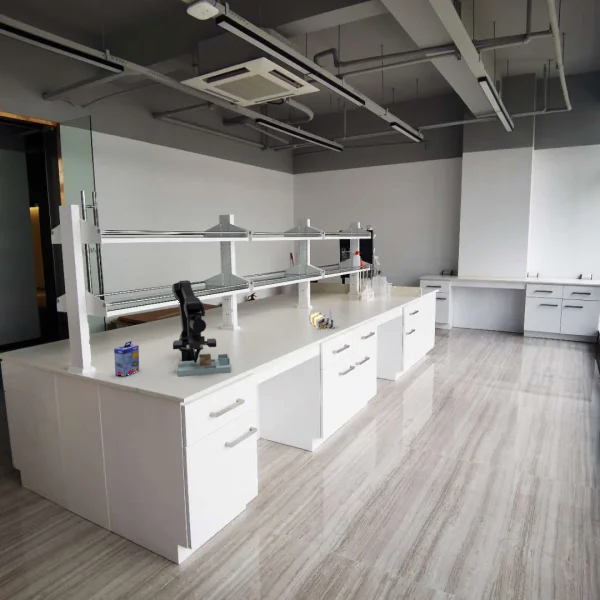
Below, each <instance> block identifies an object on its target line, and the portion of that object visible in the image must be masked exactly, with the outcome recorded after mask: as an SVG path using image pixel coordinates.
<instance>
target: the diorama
mask: <svg viewBox="0 0 600 600" xmlns="http://www.w3.org/2000/svg"><path fill="white" fill-rule="evenodd" d="M308 321H309V323H310V324H311V323H312V324H311V325H313V326H314V327H315V326H316V327H315V328H317V329H318V330H321V328H320V326H319V325H320V323H322V324H324V325H325V326H326V327H329V329H331V330H333V328H334V326H335V325H334V322H335V321H334V319H333V316H332V310H331V308H329V315H327V314H324V313H323V312H320V311H312V313H311V312H310V313H309V314H308Z"/></svg>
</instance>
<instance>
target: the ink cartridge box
mask: <svg viewBox="0 0 600 600" xmlns="http://www.w3.org/2000/svg"><path fill="white" fill-rule="evenodd" d="M139 349H140V347H139V345H138V344H134V343H133V344H132V340H130V341H127V342H125V344H124V345H123V346H118V347H115V348H114V349H113V350H114V351H113V353H114V354H113V355H114V372H115V374H114V375H115V376H116V375H121V376H126V375H128V374H131V373H133V374H135V373H134V372H136V371H139V372H140V353H139V352H140V350H139ZM136 373H137V372H136ZM131 375H132V374H131ZM121 376H120V377H121ZM128 376H129V375H128ZM126 377H127V376H126Z"/></svg>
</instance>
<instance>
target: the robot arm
mask: <svg viewBox="0 0 600 600" xmlns="http://www.w3.org/2000/svg"><path fill="white" fill-rule="evenodd" d="M171 291H172V293H173V296H174V298H175V300H176V301H177V300H178V301H179V302H178V301H177V302H178V307H179V315H180V323H181V332H180V334H179V339H178V340H173V342H172V350H178V351H180V353H181V354H180V355H181V361H194V362H195V363H196V362H197V360H199V359H198V358H199V355H200V352H201V350H204V346H207V347H209V348H216V347H217V339H216V338H213V337H212V338H207V339H206V338H205V335H203V336H202V333H203V332H204V331H206V328H207V323H206V321H205V320H204V319H202V317H206V310H205V306H204V304H203V302H202V301H201V300H200V298H199V297H197V296H196V295H195V293H194V290H193V288H192V283H191V280H180V281H178V282H176V283H173V284H172V285H171ZM179 303H180V305H179Z"/></svg>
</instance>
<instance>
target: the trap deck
mask: <svg viewBox="0 0 600 600" xmlns="http://www.w3.org/2000/svg"><path fill="white" fill-rule="evenodd" d="M230 362H231V361H230V356H229V353H221V354H218V355H217V358H213V359H212V358H211V365H208V366H200V361H199V359H197V362H196V363H195V362H194V361H182V360H181V361H178V362H177V371H176V372H177V377H178V376H179V377H189V375H192V376H202V375H201V374H204V375H214V374H228V372H230V373H231V364H230Z"/></svg>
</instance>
